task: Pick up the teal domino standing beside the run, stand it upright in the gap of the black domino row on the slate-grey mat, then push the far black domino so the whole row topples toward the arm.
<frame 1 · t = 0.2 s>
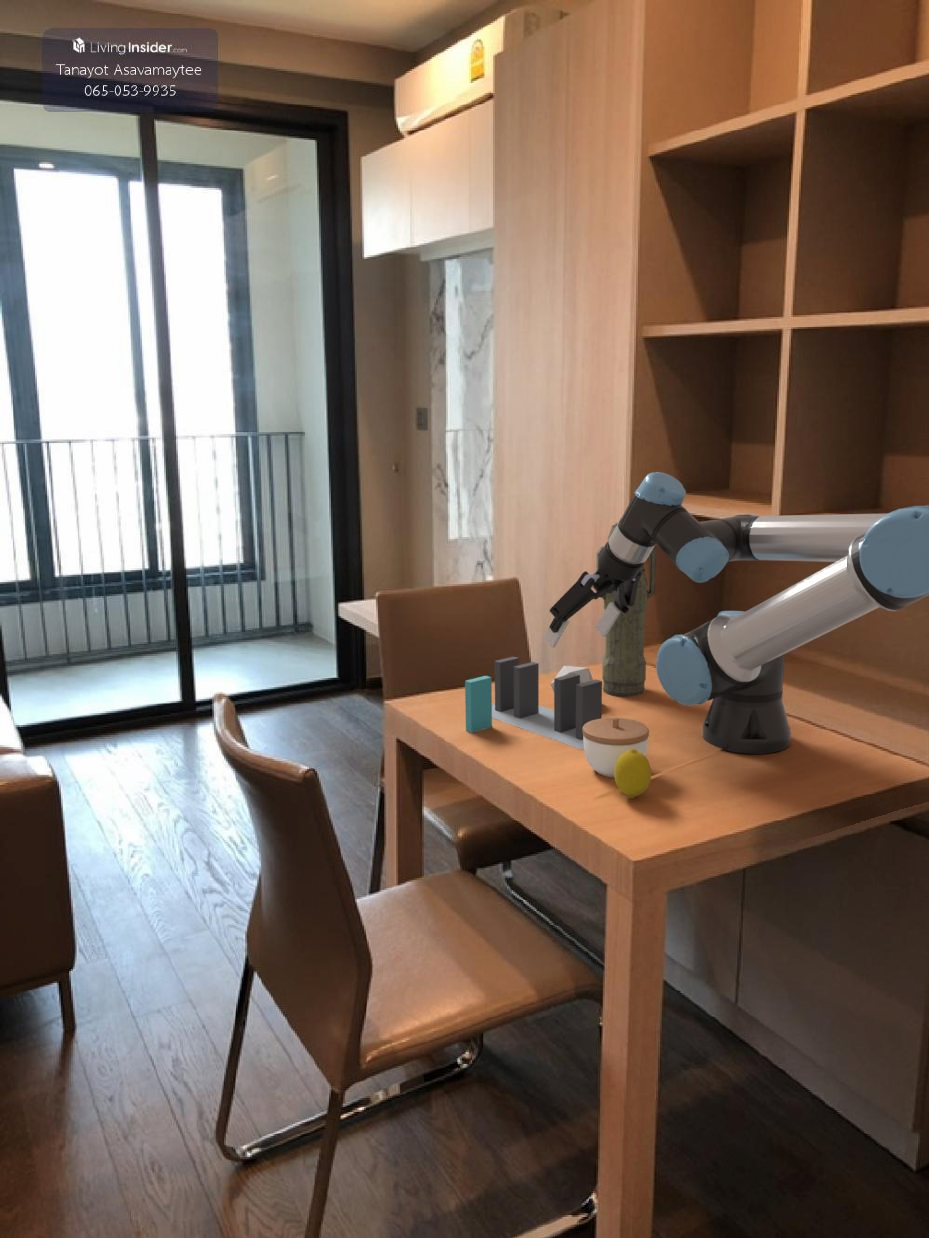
hand: (575, 637, 190), 16 cm above the table, tool tilted 35°, fingers open, 13 cm apart
die: (573, 706, 201), on the table
thermos: (624, 691, 211), on the table
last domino: (588, 735, 182), resting on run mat
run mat: (546, 723, 190), on the table
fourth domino: (566, 728, 186), resting on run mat
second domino: (526, 714, 195), resting on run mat
teal domino: (479, 730, 187), on the table
lidded jar: (614, 773, 166), on the table
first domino: (507, 708, 199), resting on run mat
lemon: (632, 799, 155), on the table
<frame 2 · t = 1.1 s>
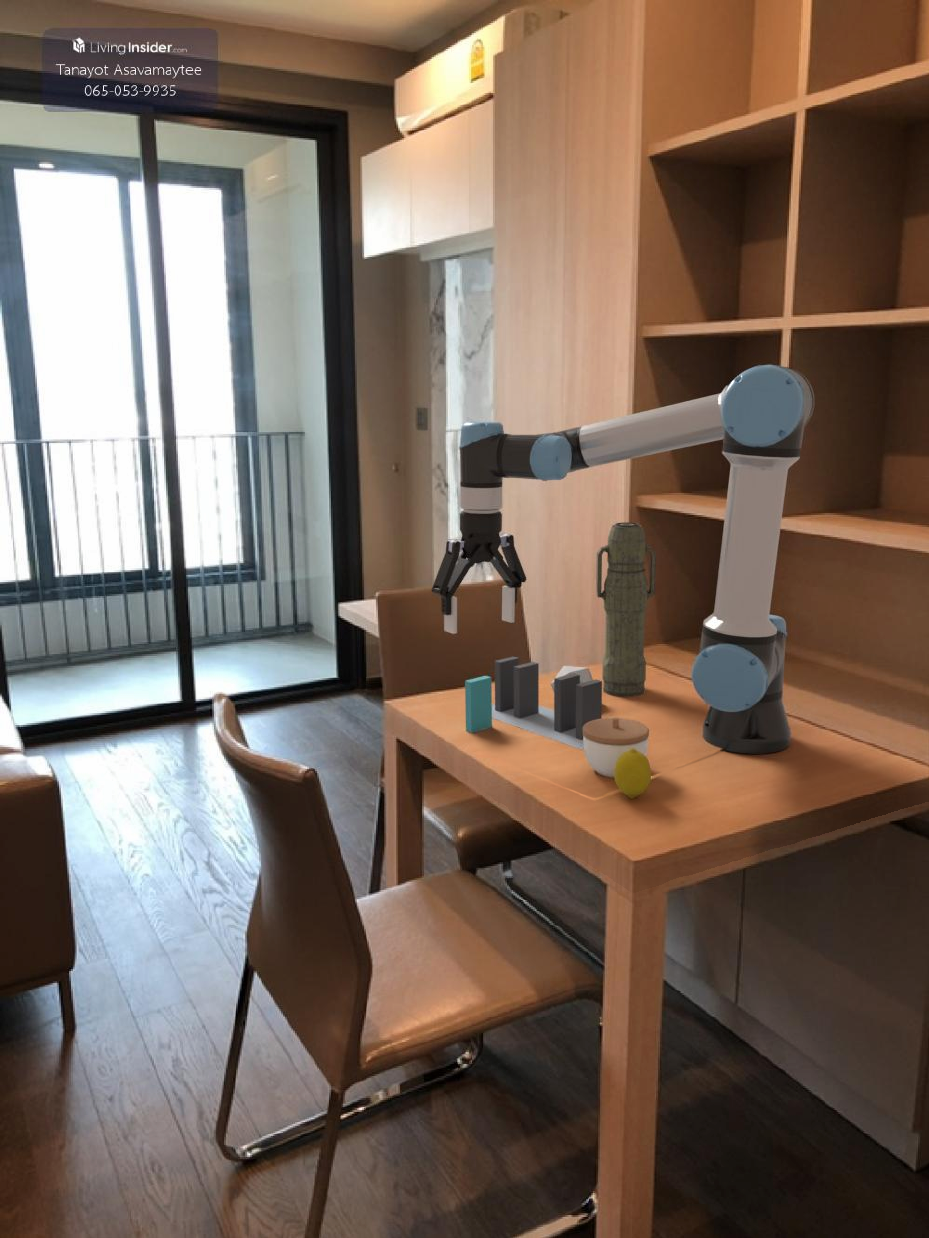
hand: (479, 626, 183), 20 cm above the table, tool pointing down, fingers open, 13 cm apart
nothing on the table moved.
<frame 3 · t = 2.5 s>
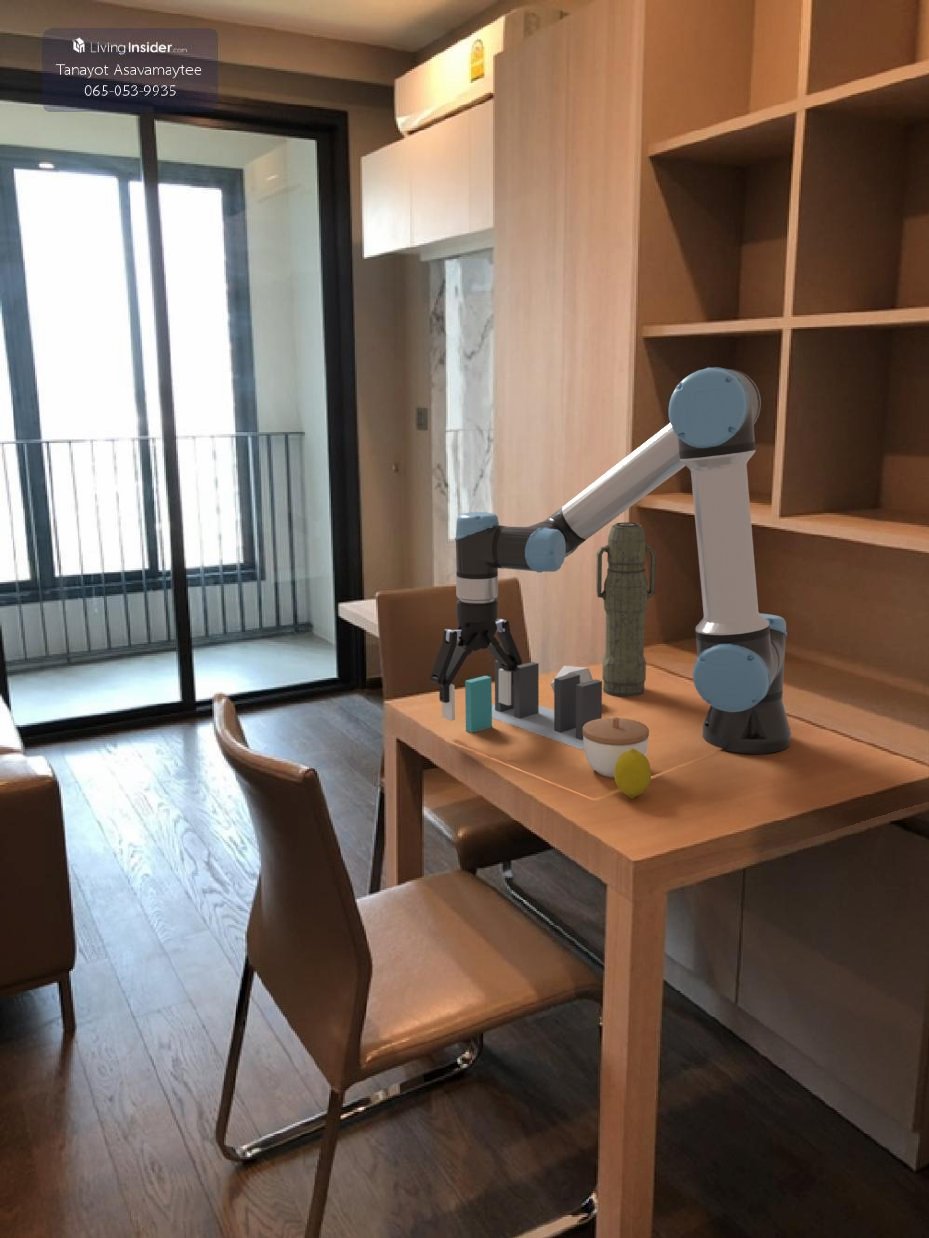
hand: (477, 711, 187), 4 cm above the table, tool pointing down, fingers open, 13 cm apart
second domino: (526, 714, 195), resting on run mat, touching gripper
everything else where it was.
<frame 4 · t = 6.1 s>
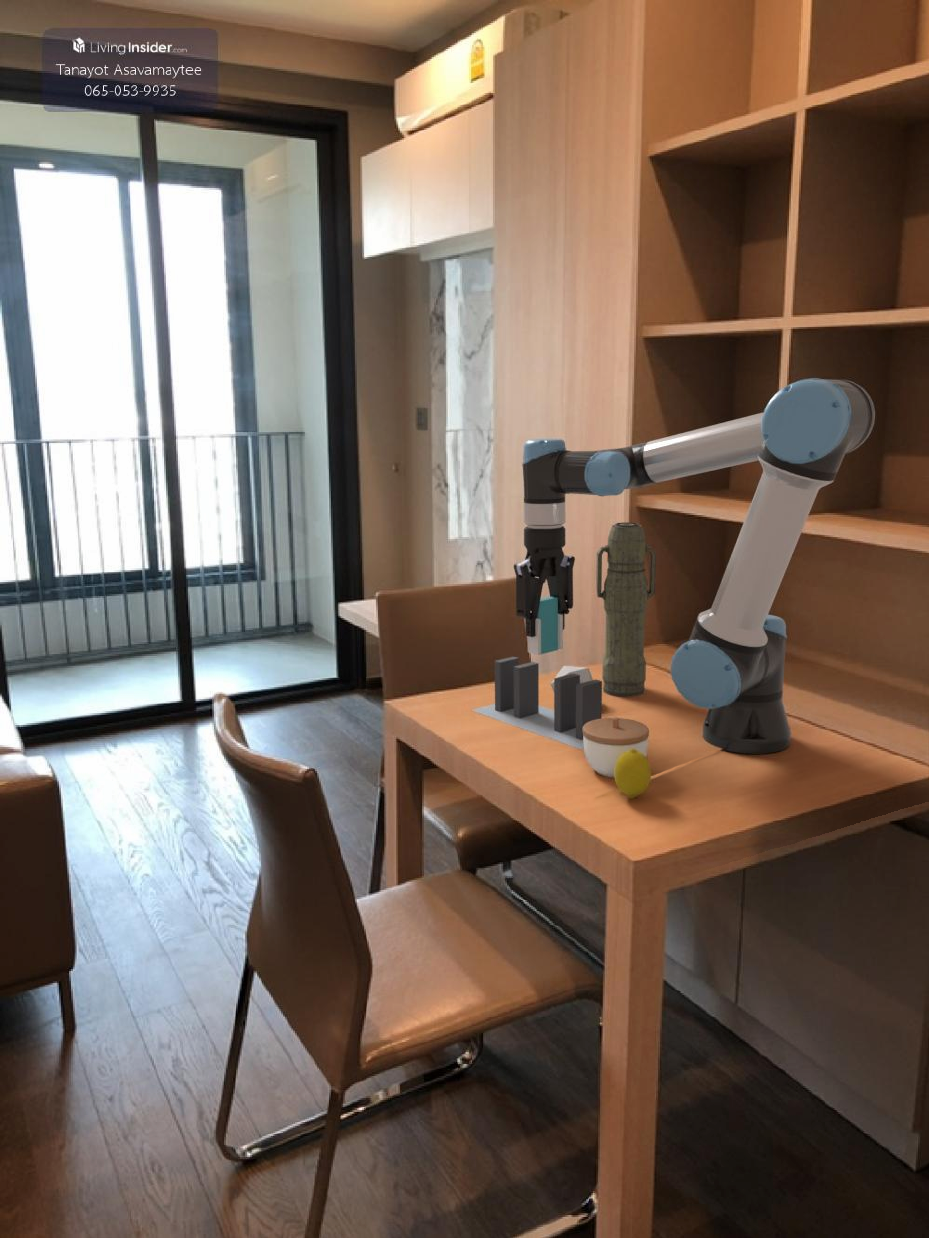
hand: (545, 650, 187), 14 cm above the table, tool pointing down, fingers closed on teal domino, 5 cm apart
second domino: (526, 714, 195), resting on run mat
teal domino: (545, 651, 187), point 14 cm above the table, touching gripper
everything else where it was.
when the fingers open (2 cm above the table, at t = 8.9 s): teal domino stays where it is, resting on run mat.
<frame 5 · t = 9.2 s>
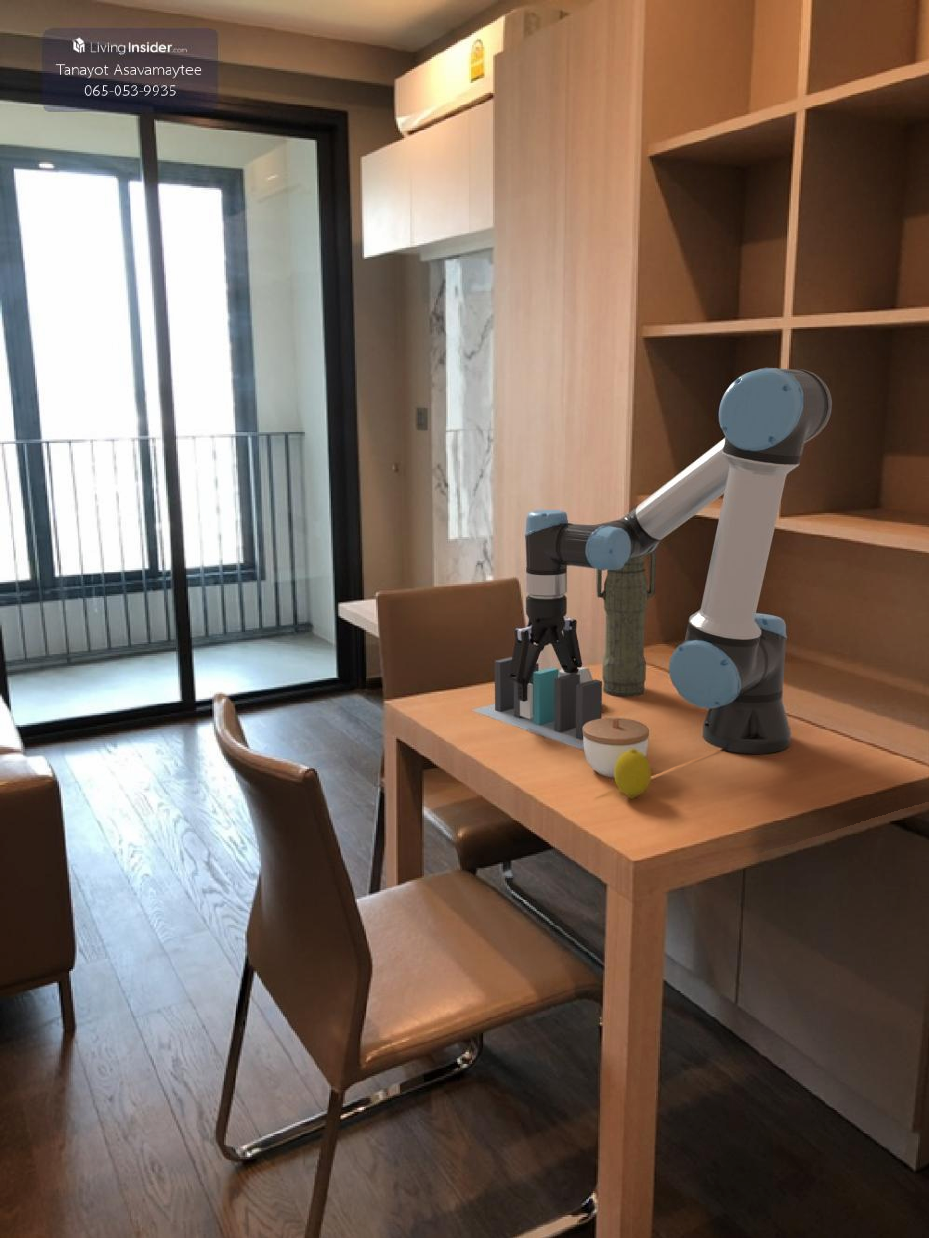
hand: (546, 711, 190), 3 cm above the table, tool pointing down, fingers open, 9 cm apart
teal domino: (546, 721, 190), resting on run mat
everything else where it was.
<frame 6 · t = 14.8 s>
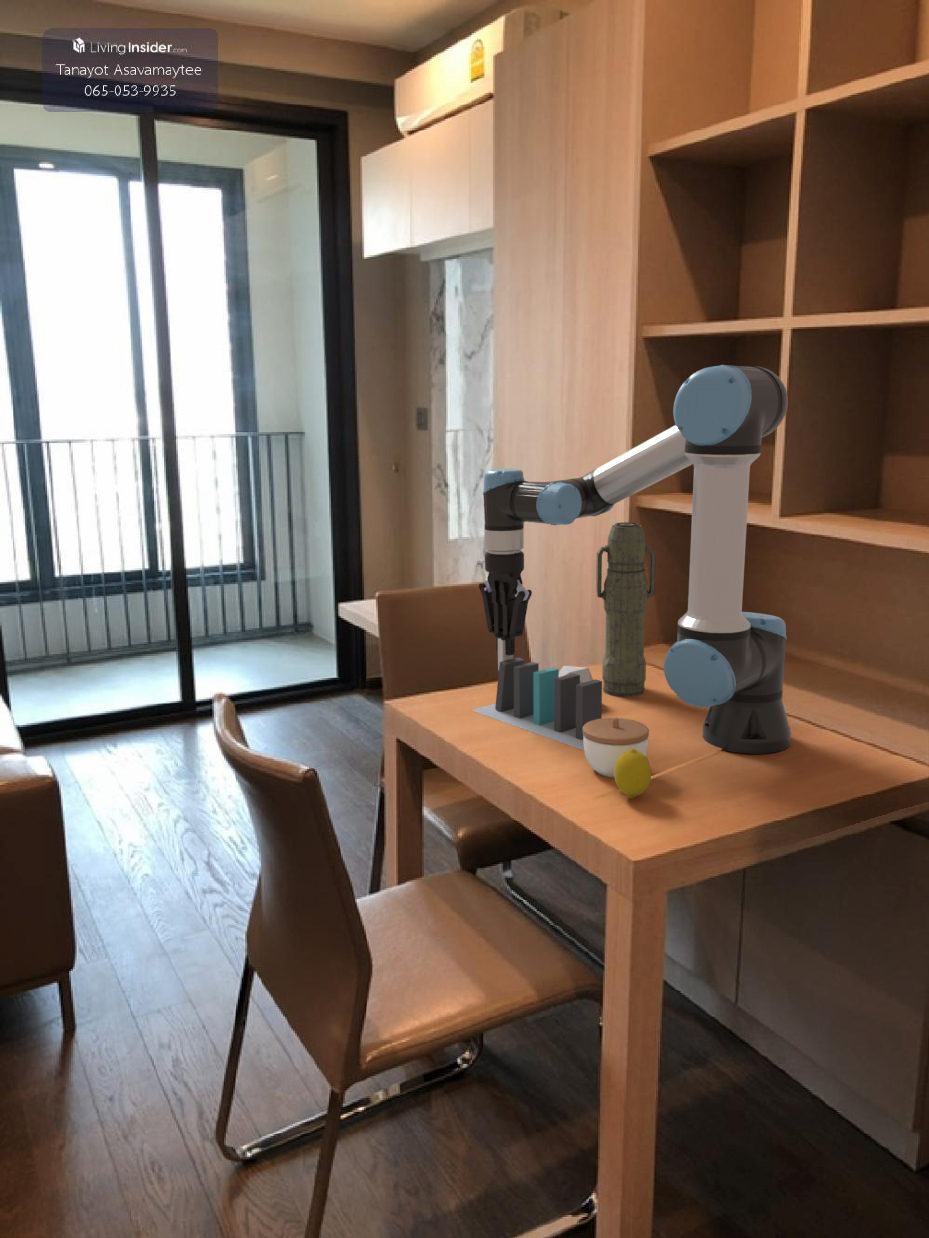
hand: (505, 669, 197), 8 cm above the table, tool pointing down, fingers closed
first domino: (507, 707, 199), point 1 cm above the table, tilted 9°, touching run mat
everything else where it was.
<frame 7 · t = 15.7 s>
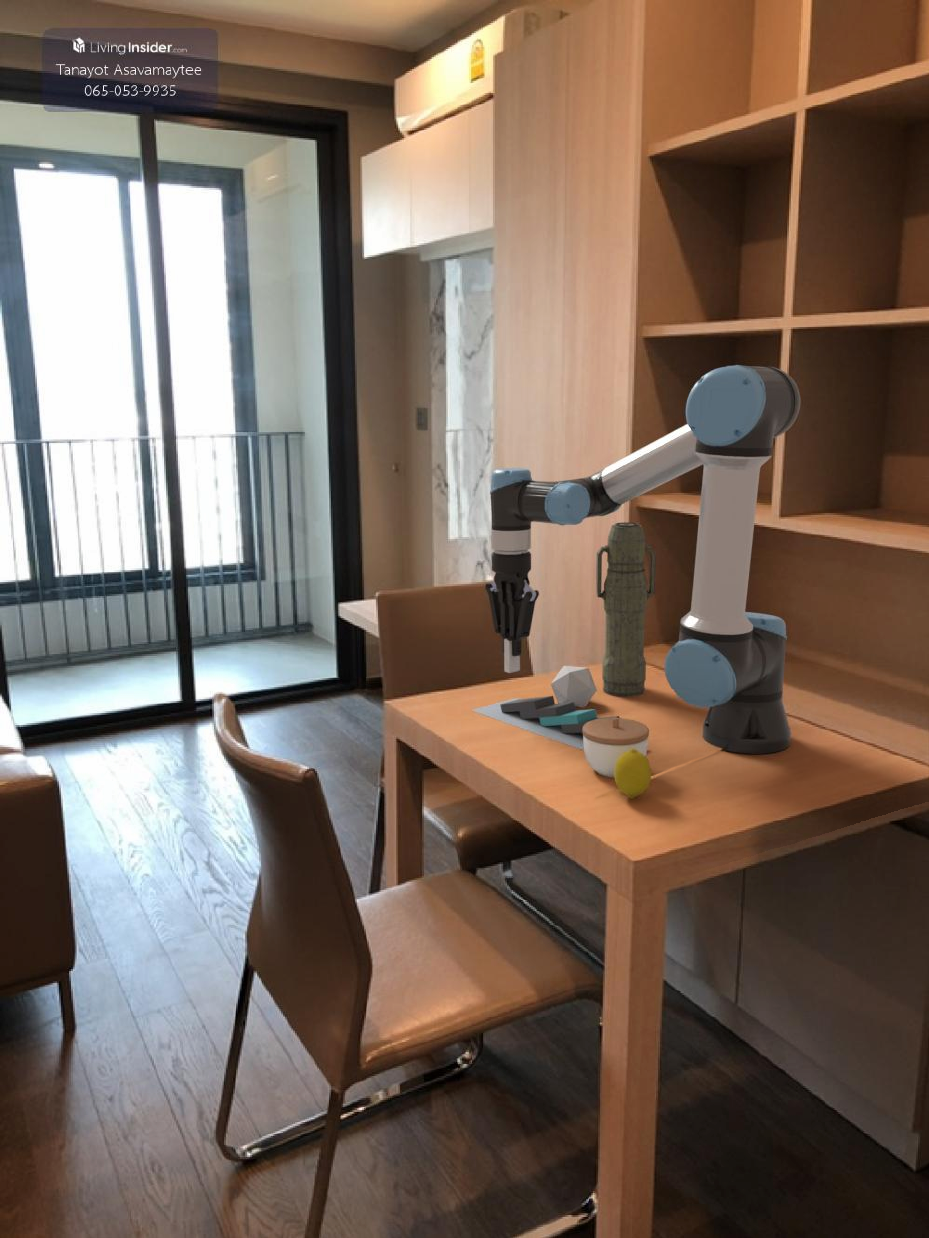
hand: (512, 670, 196), 8 cm above the table, tool pointing down, fingers closed
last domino: (593, 733, 181), point 1 cm above the table, tilted 90°, touching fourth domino, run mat
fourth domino: (571, 726, 185), point 1 cm above the table, tilted 73°, touching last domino, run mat, teal domino
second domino: (529, 712, 194), point 1 cm above the table, tilted 73°, touching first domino, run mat, teal domino
teal domino: (549, 718, 190), point 1 cm above the table, tilted 73°, touching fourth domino, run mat, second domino
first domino: (510, 705, 198), point 1 cm above the table, tilted 73°, touching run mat, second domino
everything else where it was.
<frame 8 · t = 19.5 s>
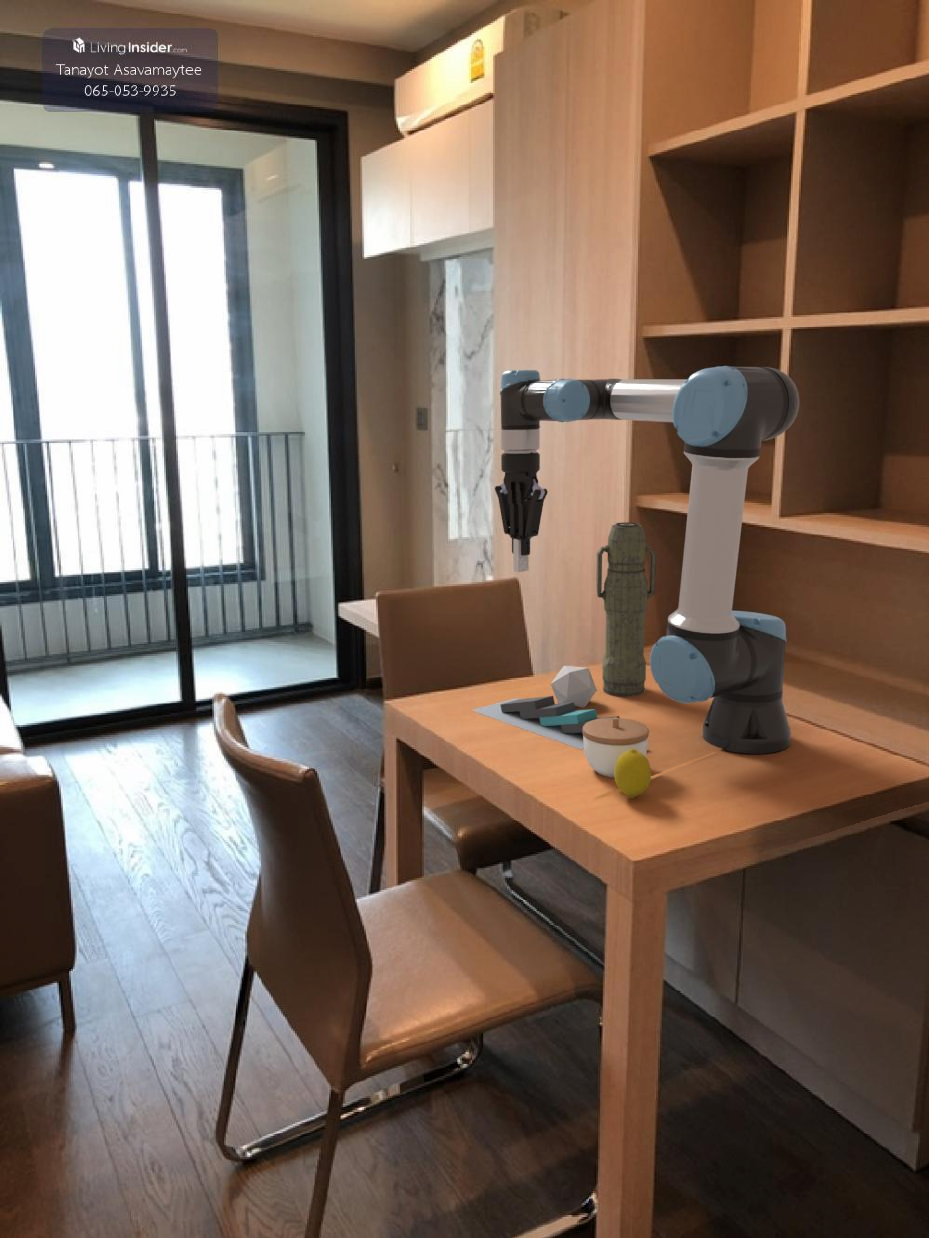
hand: (521, 570, 201), 26 cm above the table, tool pointing down, fingers closed
nothing on the table moved.
at the end: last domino tilted 90°; teal domino tilted 73° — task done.
